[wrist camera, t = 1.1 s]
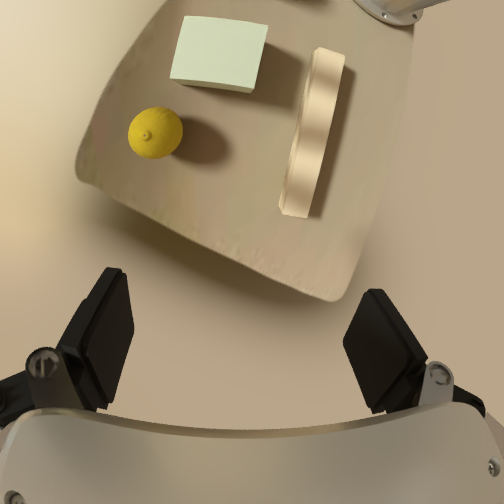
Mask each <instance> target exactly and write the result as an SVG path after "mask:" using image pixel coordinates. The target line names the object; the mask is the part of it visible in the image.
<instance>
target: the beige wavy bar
mask: <svg viewBox="0 0 504 504" xmlns="http://www.w3.org/2000/svg"><path fill="white" fill-rule="evenodd" d="M344 60H345V55H342V54H339V53H336V52H333V51H330V50H327V49H324V48H321V47H319V48H318V49H316V50H315V51H313V52H312V56H311V60H310V65H309V70H308V75H307V80H306V84H305V89H304V94H303V99H302V103H301V108H300V113H299V117H298V122H297V126H296V131H295V135H294V140H293V144H292V149H291V153H290V158H289V162H288V167H287V171H286V175H285V180H284V184H283V189H282V193H281V197H280V201H279V208H280V210H281V212H282V214H285V215H291V216H296V217H302V218H307V217H308V213H309V209H310V206H311V202H312V198H313V195H314V191H315V187H316V183H317V179H318V175H319V171H320V168H321V164H322V160H323V155H324V151H325V147H326V143H327V139H328V135H329V130H330V126H331V122H332V117H333V113H334V108H335V104H336V99H337V94H338V90H339V85H340V80H341V75H342V70H343V65H344Z"/></svg>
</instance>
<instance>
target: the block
mask: <svg viewBox="0 0 504 504" xmlns="http://www.w3.org/2000/svg"><path fill="white" fill-rule="evenodd" d="M267 30H268V26H267V25H262V24H256V23H251V22H244V21H238V20H230V19H222V18H212V17H199V16H185V17H184V21H183V24H182V28H181V32H180V36H179V39H178V43H177V47H176V52H175V56H174V60H173V65H172V69H171V74H170V79H172V80H174V81H175V82H177V83H179V84H181V85H192V86H202V87H211V88H218V89H226V90H232V91H239V92H244V93H251V92H252V90H253V89H254V86H255V82H256V77H257V73H258V68H259V64H260V59H261V55H262V51H263V46H264V42H265V38H266V34H267Z"/></svg>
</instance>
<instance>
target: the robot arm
mask: <svg viewBox="0 0 504 504" xmlns="http://www.w3.org/2000/svg"><path fill="white" fill-rule="evenodd" d="M354 1H355V2H356V3H357V4H358V5H359V6H360V7H361V8H363V9H364V10H365V11H366V12H368V13H369V14H371V15H372V16H374V17H375V18H377V19H379V20H381V21H383V22H386V23H388V24H391V25H396V26H407V25H411V24H413V23H416V22H417V21H419V19H420V18H421V16H422V14H423V9H424V8H426V7H429V6H433V5H435V4H438V3H442V2H446V1H449V0H354ZM133 335H134V322H133V316H132V310H131V304H130V297H129V291H128V284H127V275H126V274H125V273H122V270H121V269H118V268H110V267H107V268H106V269H105V270H104V272H103V273H102V274H101V276H100V278H99V279H98V281H97V282H96V284H95V285H94V287H93V289H92V290H91V292H90V293H89V295H88V297H87V298H86V299H84V300H83V301H82V302H81V304H80V306H79V307H78V309H77V311H76V312H75V314H74V316H73V317H72V319H71V321H70V323H69V324H68V326H67V328H66V330H65V331H64V333H63V335H62V337H61V339H60V341H59V343H58V344H57V347H56V348H55V349H54V348H52V347H42V348H38V349H36V350H34V351H33V352H32V353H31V354H30V355H29V357H28V358H27V360H26V364H25V370H24V371H22V372H20V373H17V374H15V375H13V376H10V377H8V378H6V379H3V380H1V381H0V504H504V427H503V426H502V425H501V424H500V423H499V422H497V420H495V419H494V418H493V417H492V416H491V415H490V414H489V413H488V412H487V413H486V414H485V407H484V404H483V402H482V400H481V399H480V398H478V397H477V396H475V395H473V394H471V393H469V392H467V391H465V390H464V389H462V388H459V387H458V386H456V385H454V377H453V374H452V372H451V370H450V369H449V368H448V367H447V366H446V365H444V364H443V363H441V362H438V361H433V362H430V363H429V364H428V365H426V364H425V362H426V360H427V359H428V356H427V355H426V353H425V351H424V350H423V348H422V347H421V345H420V344H419V342H418V340H417V339H416V337H415V336H414V334H413V333H412V331H411V330H410V328H409V326H408V325H407V324H406V322H405V321H404V319H403V317H402V316H401V315H400V313H399V312H398V310H397V309H396V307H395V306H394V304H393V303H392V302H391V300H390V299H389V297H388V296H387V294H386V293H385V292H384V290H382V289H369V290H368V291H367V292H365V293H364V294H363V297H362V299H361V301H360V304H359V306H358V308H357V310H356V313H355V315H354V317H353V319H352V321H351V323H350V326H349V328H348V330H347V332H346V334H345V336H344V338H343V346H344V349H345V351H346V354H347V356H348V359H349V361H350V363H351V366H352V368H353V371H354V374H355V376H356V378H357V381H358V384H359V386H360V389H361V391H362V394H363V397H364V399H365V402H366V405H367V406H368V408H370V409H371V411H372V414H376V413H381V412H384V410H386V413H387V414H384V415H380V416H375V417H370V418H365V419H360V420H355V421H349V422H342V423H336V424H329V425H320V426H311V427H302V428H288V429H267V430H266V429H265V430H230V429H229V430H228V429H206V428H193V427H183V426H174V425H166V424H159V423H152V422H145V421H139V420H133V419H128V418H123V417H118V416H113V415H108V414H102V413H97V412H96V411H97V408H101V409H105V410H107V407H108V403H112V402H113V400H114V397H115V393H116V390H117V386H118V383H119V379H120V376H121V372H122V369H123V366H124V363H125V359H126V356H127V353H128V350H129V346H130V344H131V341H132V337H133Z"/></svg>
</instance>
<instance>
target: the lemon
mask: <svg viewBox="0 0 504 504" xmlns="http://www.w3.org/2000/svg"><path fill="white" fill-rule="evenodd" d="M182 135H183V126H182V122H181V120H180V118H179V117H178V116H177V114H176V113H175V112H173V111H171V110H170V109H167V108H164V107H153V108H149V109H146V110H144V111H143V112H141V113H140V114H139V115H137V116H136V117H135V119H134V120H133V121H132V123H131V125H130V128H129V133H128V138H129V143H130V145H131V147H132V149H133V150H134V151H135V152H136V153H137V154H138V155H140V156H142V157H144V158H149V159H158V158H162V157H165V156H167V155H169V154H170V153H172V152H173V151H174V150H175V149H176V148H177V147H178V145H179V143H180V142H181V139H182Z"/></svg>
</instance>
